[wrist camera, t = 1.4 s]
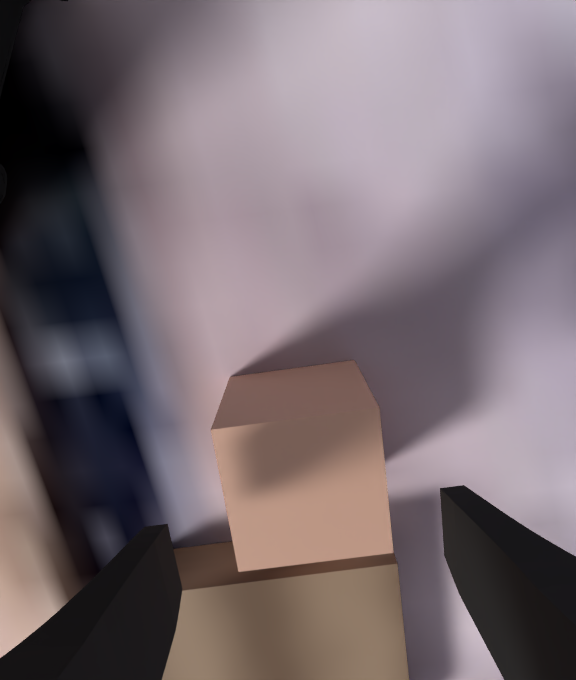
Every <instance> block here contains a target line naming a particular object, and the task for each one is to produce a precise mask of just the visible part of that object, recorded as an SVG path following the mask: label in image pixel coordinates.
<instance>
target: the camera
mask: <svg viewBox="0 0 576 680" xmlns="http://www.w3.org/2000/svg"><path fill="white" fill-rule="evenodd" d="M29 1H31V0H0V97H1V93H2V89H3V85H4V81H5V77H6V73H7V69H8V65H9V61H10V57H11V53H12V49H13V45H14V41H15V37H16V34H17V30H18V26H19V22H20V18H21V14H22V10H23V7H24V6H25V5H26V4H27V3H28V2H29ZM61 1H68V0H61ZM6 186H7V174H6V171H5V169H4V167H3V166H2V165H1V164H0V204H1V202H2V201H3V198H4V197H5V195H6Z"/></svg>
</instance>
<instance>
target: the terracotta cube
mask: <svg viewBox="0 0 576 680" xmlns="http://www.w3.org/2000/svg"><path fill="white" fill-rule="evenodd" d="M211 433H212V438H213V443H214V448H215V454H216V459H217V464H218V469H219V474H220V479H221V484H222V490H223V495H224V500H225V505H226V510H227V515H228V520H229V526H230V531H231V536H232V541H233V546H234V551H235V556H236V562H237V567H238V572H243V571H251V570H259V569H267V568H275V567H283V566H291V565H299V564H307V563H315V562H323V561H331V560H340V559H348V558H356V557H364V556H372V555H380V554H388V553H393V543H392V532H391V522H390V512H389V501H388V491H387V481H386V470H385V460H384V450H383V439H382V429H381V419H380V408H379V406H378V404H377V402H376V400H375V398H374V396H373V394H372V393H371V391H370V389H369V387H368V385H367V383H366V381H365V379H364V377H363V375H362V373H361V372H360V370H359V368H358V366H357V364H356V362H355V360H350V361H343V362H335V363H328V364H321V365H313V366H306V367H298V368H291V369H284V370H276V371H269V372H261V373H254V374H247V375H239V376H232V377H230V378H229V381H228V384H227V387H226V389H225V392H224V395H223V398H222V400H221V403H220V406H219V409H218V412H217V414H216V417H215V420H214V423H213V425H212V428H211Z"/></svg>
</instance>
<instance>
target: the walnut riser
mask: <svg viewBox="0 0 576 680" xmlns="http://www.w3.org/2000/svg"><path fill="white" fill-rule="evenodd" d="M173 550H174V554H175V559H176V563H177V567H178V571H179V576H180V580H181V584H182V596H181V602H180V609H179V615H178V621H177V627H176V631H175V635H174V639H173V642H172V646H171V649H170V653H169V656H168V660H167V663H166V667H165V670H164V674H163V677H162V680H409V674H408V664H407V654H406V644H405V634H404V624H403V614H402V604H401V594H400V584H399V574H398V564H397V561H396V558H395V555H394V552H393V553H388V554H380V555H372V556H364V557H356V558H348V559H340V560H331V561H323V562H315V563H307V564H299V565H291V566H283V567H275V568H267V569H259V570H251V571H243V572H238V567H237V562H236V556H235V551H234V546H233V541H231V542H223V543H215V544H208V545H200V546H192V547H184V548H177V549H173Z"/></svg>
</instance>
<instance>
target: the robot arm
mask: <svg viewBox="0 0 576 680" xmlns="http://www.w3.org/2000/svg"><path fill="white" fill-rule="evenodd" d="M440 496H441V511H442V526H443V541H444V556H445V558H446V561H447V564H448V566H449V569H450V571H451V574H452V577H453V579H454V582H455V584H456V587H457V589H458V592H459V594H460V596H461V598H462V600H463V602H464V604H465V606H466V608H467V610H468V612H469V614H470V615H471V617H472V619H473V621H474V623H475V625H476V627H477V629H478V631H479V633H480V634H481V636H482V638H483V640H484V642H485V644H486V646H487V648H488V650H489V651H490V653H491V655H492V657H493V659H494V661H495V663H496V665H497V667H498V668H499V670H500V672H501V674H502V676H503V678H504V680H576V556H574V555H572V554H570V553H568V552H567V551H565V550H563V549H561V548H560V547H558V546H556V545H554V544H553V543H551V542H549V541H548V540H546V539H544V538H542V537H541V536H539V535H538V534H536V533H534V532H533V531H531V530H529V529H528V528H526V527H525V526H523V525H522V524H520V523H518V522H517V521H515V520H514V519H512V518H511V517H509V516H508V515H506V514H505V513H503V512H502V511H500V510H499V509H498V508H496V507H495V506H493V505H492V504H490V503H489V502H487V501H486V500H484V499H483V498H482V497H480V496H479V495H477V494H476V493H474V492H473V491H471V490H470V489H468V488H467V487H465V486H464V485H463V486H455V487H447V488H440ZM181 596H182V584H181V580H180V576H179V571H178V567H177V563H176V559H175V554H174V550H173V546H172V542H171V537H170V533H169V529H168V524H163V525H156V526H148V527H144V528H143V529H142V530H141V531H140V532H139V533H138V534H137V535H136V536H135V537H134V538H133V539H132V540H131V541H130V542H129V543H128V544H127V545H126V546H125V547H124V548H123V549H122V550H121V551H120V552H119V553H118V554H117V555H116V556H115V557H114V558H113V559H112V560H111V561H110V562H109V563H108V564H107V565H106V566H105V567H104V568H103V569H102V570H101V571H100V572H99V573H98V574H97V575H96V576H95V577H94V578H93V579H92V580H91V581H90V582H89V583H88V584H87V585H86V586H85V587H84V588H83V589H82V590H81V591H80V592H78V593H77V594H76V595H75V596H74V597H73V598H72V599H71V600H70V601H69V602H68V603H67V604H66V605H64V606H63V607H62V608H61V609H60V610H59V611H58V612H57V613H56V614H55V615H54V616H52V617H51V618H50V619H49V620H48V621H47V622H45V623H44V624H43V625H42V626H41V627H40V628H38V629H37V630H36V631H35V632H33V633H32V634H31V635H30V636H28V637H27V638H26V639H25V640H23V641H22V642H21V643H20V644H18V645H17V646H16V647H15V648H13V649H12V650H11V651H9V652H8V653H7V654H5V655H4V656H3V657H1V658H0V680H162V677H163V674H164V670H165V667H166V663H167V660H168V656H169V653H170V649H171V646H172V642H173V639H174V635H175V631H176V627H177V621H178V615H179V609H180V602H181Z"/></svg>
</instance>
